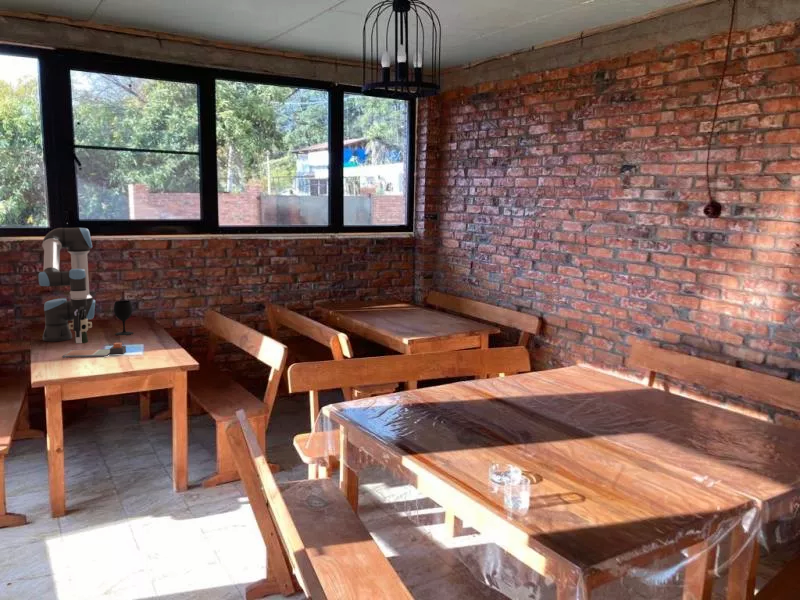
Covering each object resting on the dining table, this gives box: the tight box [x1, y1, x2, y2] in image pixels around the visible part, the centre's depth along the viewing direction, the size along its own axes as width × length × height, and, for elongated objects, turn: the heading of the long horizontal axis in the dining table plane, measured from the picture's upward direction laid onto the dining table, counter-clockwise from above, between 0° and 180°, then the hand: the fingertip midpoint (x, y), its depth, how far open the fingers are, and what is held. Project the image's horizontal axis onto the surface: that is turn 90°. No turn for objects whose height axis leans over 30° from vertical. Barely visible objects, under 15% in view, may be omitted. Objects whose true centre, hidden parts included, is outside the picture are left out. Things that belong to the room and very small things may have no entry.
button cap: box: [112, 342, 123, 348], centre depth 341 cm, size 3×3×3 cm
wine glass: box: [113, 300, 134, 336], centre depth 389 cm, size 10×10×20 cm
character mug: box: [68, 318, 93, 344], centre depth 337 cm, size 11×7×13 cm, turn 116°
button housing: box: [109, 345, 127, 355], centre depth 341 cm, size 6×6×4 cm
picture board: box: [61, 348, 110, 359], centre depth 339 cm, size 15×22×1 cm
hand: (81, 341), depth 338 cm, fingers closed on character mug, 7 cm apart
